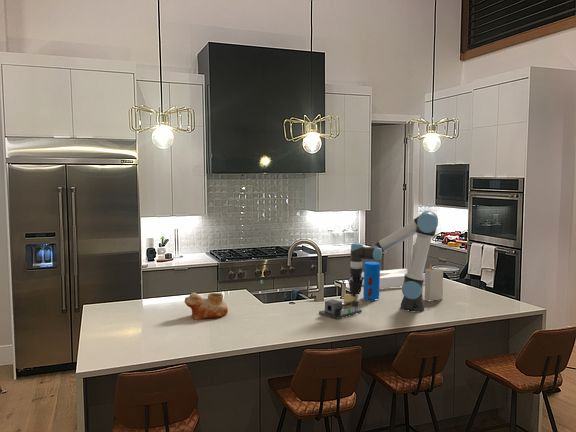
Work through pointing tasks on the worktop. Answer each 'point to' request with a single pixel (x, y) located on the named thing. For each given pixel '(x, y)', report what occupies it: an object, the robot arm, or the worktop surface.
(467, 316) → the worktop surface
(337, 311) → the circuit board
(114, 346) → the worktop surface
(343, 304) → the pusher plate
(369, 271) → the thermos
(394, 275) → the bread box
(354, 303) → the pointer
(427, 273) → the beige tall box
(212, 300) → the ceramic vessel
